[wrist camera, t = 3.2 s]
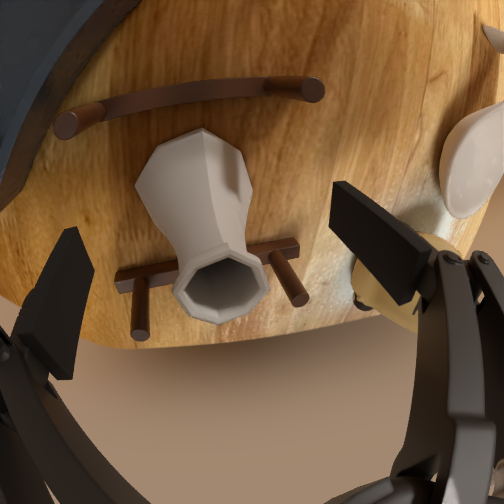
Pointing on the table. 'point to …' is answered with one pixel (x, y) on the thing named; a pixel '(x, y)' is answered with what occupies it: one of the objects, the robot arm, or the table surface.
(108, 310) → the table surface
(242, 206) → the flask
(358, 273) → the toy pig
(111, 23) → the basin
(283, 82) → the drying rack
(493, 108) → the spoon rest
